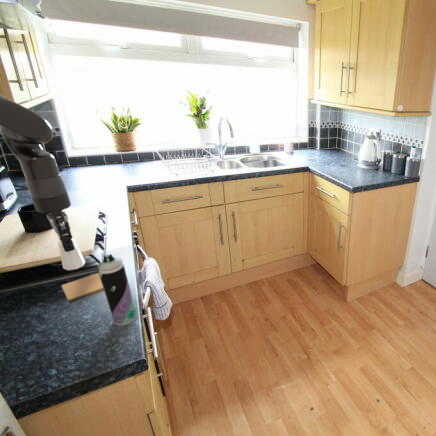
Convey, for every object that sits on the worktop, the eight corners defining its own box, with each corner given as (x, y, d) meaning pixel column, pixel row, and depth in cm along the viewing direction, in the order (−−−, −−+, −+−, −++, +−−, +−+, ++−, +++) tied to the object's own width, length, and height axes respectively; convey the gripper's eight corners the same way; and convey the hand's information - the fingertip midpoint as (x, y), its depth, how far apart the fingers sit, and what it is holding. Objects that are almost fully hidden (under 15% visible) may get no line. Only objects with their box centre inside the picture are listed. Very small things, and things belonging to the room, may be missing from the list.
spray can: (121, 328, 83) (101, 263, 75) (109, 321, 86) (89, 257, 78) (141, 316, 88) (125, 253, 80) (129, 309, 90) (112, 247, 82)
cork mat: (61, 304, 91) (60, 302, 91) (54, 289, 97) (54, 287, 97) (109, 286, 99) (108, 285, 99) (100, 273, 105) (100, 272, 105)
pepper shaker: (58, 270, 92) (45, 236, 88) (72, 260, 97) (60, 228, 93) (77, 270, 92) (65, 237, 88) (90, 260, 97) (79, 228, 93)
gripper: (26, 188, 87) (47, 243, 94) (34, 202, 78) (56, 261, 85) (60, 183, 92) (78, 235, 99) (71, 195, 83) (89, 252, 90)
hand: (68, 247), depth 92 cm, fingers closed on pepper shaker, 4 cm apart
